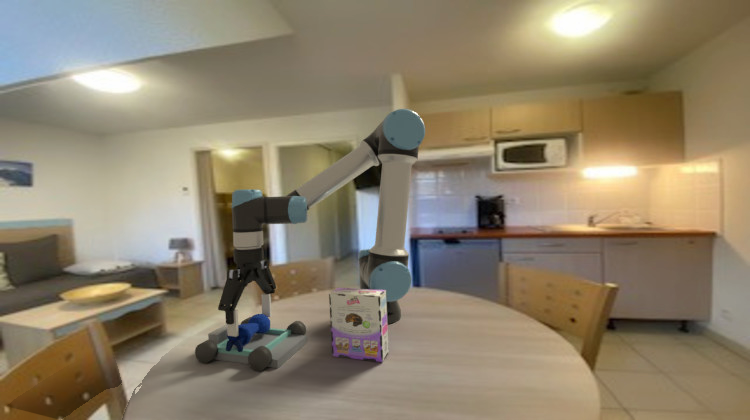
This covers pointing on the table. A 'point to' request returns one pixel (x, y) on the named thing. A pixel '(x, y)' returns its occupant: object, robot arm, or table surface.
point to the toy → (248, 331)
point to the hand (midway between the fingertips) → (251, 325)
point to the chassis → (255, 346)
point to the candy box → (359, 323)
